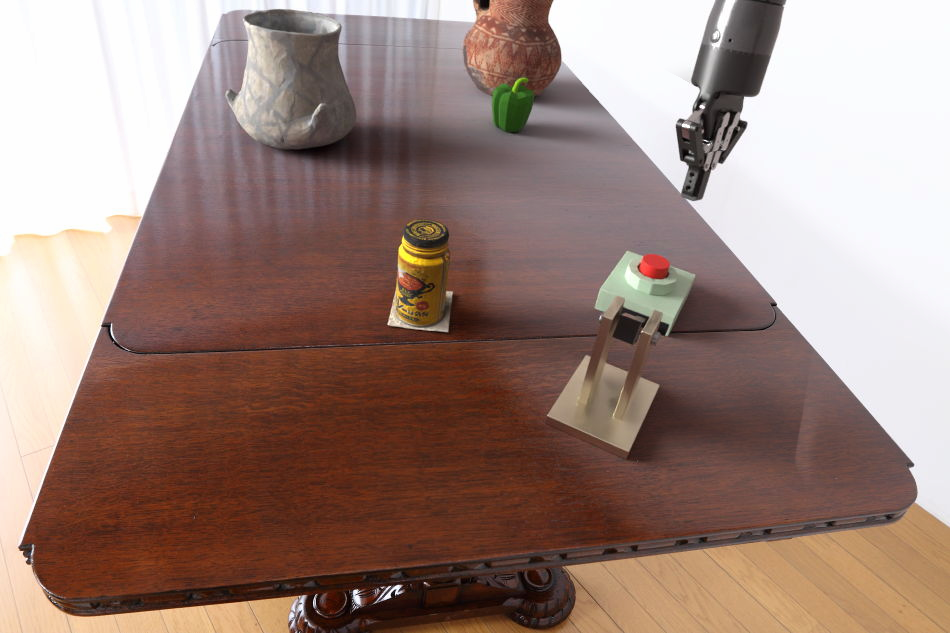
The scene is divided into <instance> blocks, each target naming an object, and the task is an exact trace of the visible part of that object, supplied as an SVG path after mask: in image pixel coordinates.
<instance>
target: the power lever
mask: <svg viewBox="0 0 950 633" xmlns="http://www.w3.org/2000/svg"><path fill="white" fill-rule="evenodd" d="M649 318H650V317H649V316H646V315H643V314H641V313H638V312H636V311H633V310H630V309H628V308H625V307H623V309H622V312H621V315H620V318H619V320H618V323H617V325H616V328H615V331H614V333H613V336H612V337H613V339H616V340H619V341H621V342H625V343H626V344H629V345H632V346H634V345H636V343H638V342H639V339H640V336H641V333H642V330H643V329H644V327H645V325H646V323H647V321H648V320H649ZM668 328H669V324H667V323H664V322H662V321H661V322H660V324H659V327H658V330H657V332H659V333H660V336H663V337H666V336H665V335H666V333H667V330H668Z"/></svg>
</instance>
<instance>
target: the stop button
mask: <svg viewBox="0 0 950 633" xmlns="http://www.w3.org/2000/svg"><path fill="white" fill-rule="evenodd" d="M643 256H644V257H643V258H642V261H641V265H640V268H639V271H640V273H642V274H643V275H644V276H647V277H649V278H652V279H664V278H665V277H666V275H667V272H668V270H669V267H670V265H671V262H670V261H669V260H668V259H667V258H666V257H664V256H661V255H659V254H656V253H648V254H645V255H643Z"/></svg>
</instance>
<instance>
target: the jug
mask: <svg viewBox="0 0 950 633" xmlns="http://www.w3.org/2000/svg"><path fill="white" fill-rule="evenodd" d="M554 1H555V0H472V5H473V8H474V11H475V17H476V19H475V21H474V24H473V26H472V27H471V28H470V29H469V30H468V31H467V33H466V34H465V36H464V38H463V43H462V52H461V53H462V57H463V58H462V60H463V64H464V65H463V66H464V69H465V70H466V72H467V74H468V76H469V78H470V79H471V81H472V82H473V84H475V86H476V88H478V89H479V90H480V91H481V92H483V93H484V94H488V95H490V96H493V92H494V90H495V89H496V88H497V87H498V86H499V85H500V84H502V83H503V84H507V85H508V86H510V87H513V86H514V84H515V82H516V81H517V80H518V79H520V78H524V77H525V78H527V79H529V81H528V82H527V83H524V82H523V83H521V84H520V85H524V86H525V87H526V88H527V89H529V90H533V93H534V97H536V96H539V95H540V94H541V93H543V92H544V91H545V90H546V89H547V88H548V87H549V86H550V85H551V83H553V81H554V80H555V78H556V76H557V75H558V73H559V71H560V69H561V66H562V48H561V45H560V41H559V39H558V37H557V35H556V33H555V31H554V29H553V28H552V27H551V24H550V23H549V20H550V19H549V16H550V11H551V8H552V5H553V3H554Z"/></svg>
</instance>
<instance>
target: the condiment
mask: <svg viewBox="0 0 950 633" xmlns="http://www.w3.org/2000/svg"><path fill="white" fill-rule="evenodd" d="M449 239H450V233H449V229H448V226H446V225H444V224H443V223H442V222H440V221H436V220H434V219H433V220H432V219H428V218H426V219H424V218H423V219H422V218H421V219H415V220H411V221H409V222H407V223H406V224H405V225H404V227H403V229H402V238H401V244H400V246H399V247H398V253H397V254H398V255H397V271H396V287H395V292H394V296H393V300H392V303H391V304H392V305H391V309H390V312H389V317H388V322H387V326H390V327H397V328H404V329H411V330H422V331H429V332H431V331H432V332H442V333H443V332H444V333H449V328H450V327H449V326H450V318H451V310H452V302H453V294H454V293H453V291H450V290H448V289H447V288H448V281H449V280H448V279H449V271H450V263H451V252H450V251H451V250H450V249H449V243H450V242H449Z"/></svg>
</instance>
